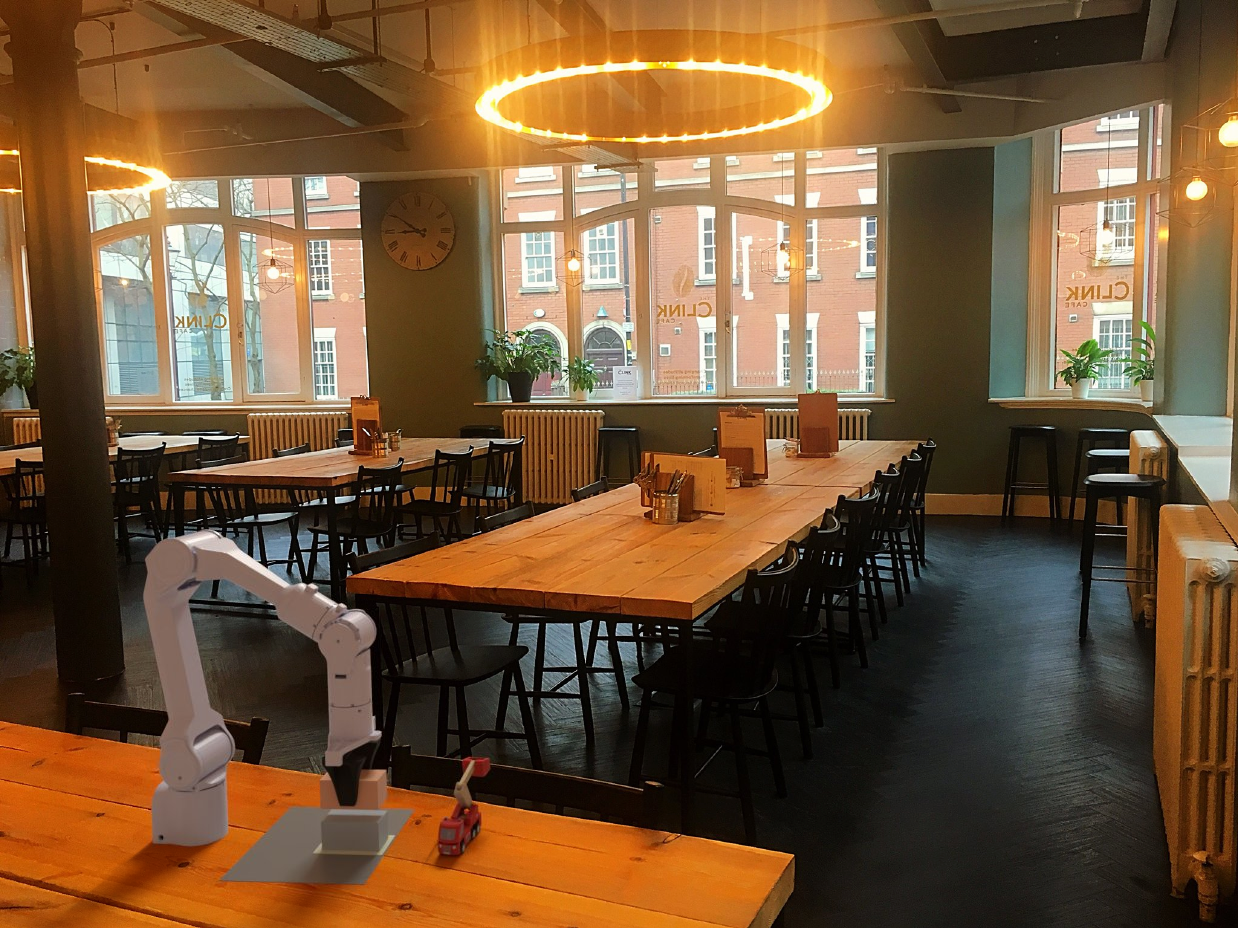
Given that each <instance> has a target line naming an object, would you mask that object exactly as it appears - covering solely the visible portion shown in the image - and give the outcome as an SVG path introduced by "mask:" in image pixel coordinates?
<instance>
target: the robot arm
mask: <svg viewBox="0 0 1238 928" xmlns="http://www.w3.org/2000/svg"><path fill="white" fill-rule="evenodd" d="M144 561H145V566H146V570H147V574H146V580H145V585H144V589H143V595H142V596H143V603H144V608H145V613H146V617H147V623H148V627H149V632H150V636H151V640H152V646H153V650H154V655H155V660H156V661H155V662H156V664H157V665H156V666H157V669H158V673H159V678H160V683H161V688H162V692H163V693H162V694H163V697H164V703H165V707H166V711H167V716H168V722H167V723H166V726H165V728H164V730H163V732H162V733H161V736H160V738H159V745H160V747H159V748H160V758H159V760H158V770H159V774H160V777H161V779H162V780H163V781H161V782H160V783H159V784H158V785H157V786H156V788H155V789H154V792H153V796H152V800H151V807H150V808H151V810H150V812H151V813H150V814H151V827H152V828H151V831H152V832H151V833H152V835H151V836H152V844H159V845H160V844H161V845H162V844H164V845H169V844H170V845H178V846H181V847H182V846H183V847H195V846H203V845H204V846H205V845H208V844H211V843H215V842H217V841H219V840H221V839H223V838H224V837H225V836H226V835H227V834H228V833H229V816H228V815H229V814H228V812H229V811H228V794H227V793H228V792H227V791H228V790H227V773H228V764H229V763H230V762H231V761H232V759H233V757H234V755H235V752H236V745H235V744H236V743H235V739H234V738H233V736H232V734H231V733H230V731H229V730H228V729H227V726H226V725H225V722H224V720H225V719H224V717H223V715H222V714H220V712H218V711H216V710H214V708H212V707H211V705H210V700H209V693H208V690H207V686H206V681H205V675H204V671H203V668H202V667H203V666H202V662H201V657H200V651H199V647H198V643H197V638H196V634H195V633H196V632H195V630H194V624H193V623H194V622H193V619H192V614H191V609H190V606H189V605H190V603H189V600H190V599H191V597H192V596H193V595H194V593H195V592H196V591H197V590H198V589H199V587H200V586H201V584H203V582H205V581H215V580H216V581H217V580H226V581H229V582H230V583H232V584H234V585H236V586H237V587H240V588H241V589H242V590H243V589H244V590H245V591H247V592H248V593H251V594H252V595H254V596H256V597H258V598H260V599H261V600H264V601H266V602H268V603H269V604H271V605H273V606H274V607H275V611H276V615H277V617H278V619H279V620H280V621H282V622H284V623H285V624H287V626H290V627H292V628H293V629H295V630H296V631H298V632H300V633H302V634H303V635H304V636H305V637H308V638H309V639H311V640H312V641H314V642H316V643H317V644H318V645H317V646H318V648H319V651H320V652H321V654H322V655H323V657H324V658H325V660H326V664H327V667H326V668H327V687H328V688H327V691H328V692H327V693H328V694H327V695H328V696H327V697H328V724H329V730H328V731H329V733H328V735H327V749H326V751H324V755H323V756H322V757H321V766H322V767H323V768H324V770H325V771H326V773H327V772H328V774H329V776H330V778H331V780H332V783H333V785H334V789H335V792H336V795H337V799H338V802H339V805H340V806H355V805H356V802H357V797H358V787H359V778H360V773H361V770H372V768H373V767H372V766H373V762H374V760H375V757H376V756H375V755H376V753H377V751H378V748H379V747H380V744H381V737H382V731H380V730H376V715H374V716H373V700H372V699H373V698H372V697H373V694H372V690H373V689H372V666H371V665H372V664H371V648H370V647H371V646H372V645H373V643H374V642H375V640H376V636H377V627H376V623H375V621H374V620H373V619H372V617H371V616H370V615H369V614H368V613H366V611H365V610H364V609H359V608H355V609H354V608H353V609H348V607H347V605H345V604H344V603H337V602H336V601H334V600H332V599H331V598H329V597H327V596H326V595H324V594H322V593H321V592H319V586H318V585H315V584H314V583H309V584H306V583H304V582H300V583H296V584H293V585H292V584H290V583H288V582H286V581H285V580H284V579H282V578H281V577H280V576H278V575H277V574H275V573H274V572H272V571H271V570H269V569H268V568H267V567H265V566H264V565H263V564H261V563H259V562H258V561H257V560H256V559H254V558H252V557H251V556H250V555H248V554H247V553H246V552H244V551H242V550H241V549H240V548H239V547H238V546H237V544H236V543H235V542H234V540H232V539H230V538H227V537H224V536H223V535H222V534H221V533H219V532H217V531H215V530H213V529H201V530H198V531H197V532H194V533H190V534H184V535H181V536H177V537H168V538H165V539H162V540H161V541H159V542H158V543H157V544H156V545H154V547H153V548H152V549H151V551H150V552H149V553H148V554H147V555H146V557H145V559H144ZM162 837H163V838H162Z"/></svg>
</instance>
